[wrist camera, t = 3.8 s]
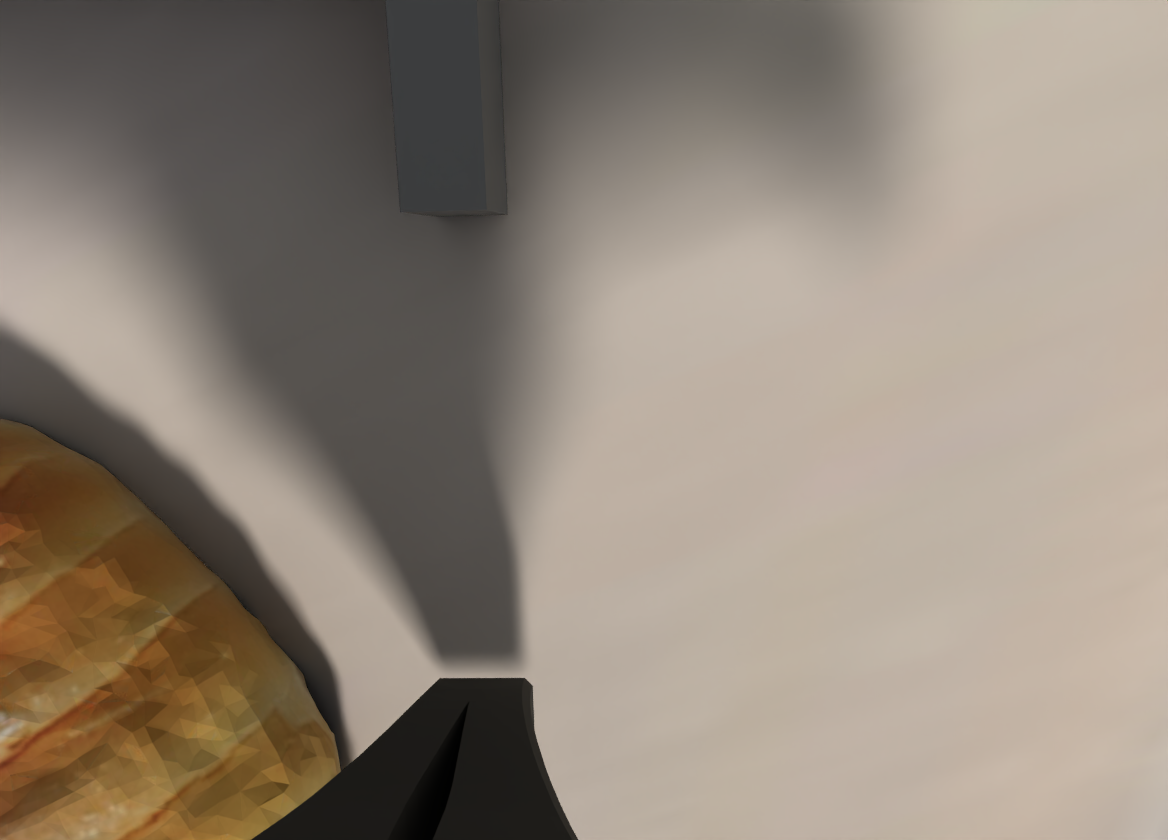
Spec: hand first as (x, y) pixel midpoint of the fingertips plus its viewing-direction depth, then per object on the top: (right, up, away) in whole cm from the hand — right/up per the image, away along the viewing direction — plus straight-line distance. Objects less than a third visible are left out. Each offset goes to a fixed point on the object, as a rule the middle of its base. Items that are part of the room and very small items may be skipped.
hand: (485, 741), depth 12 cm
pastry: (-6, 0, +2) cm, 7 cm away
